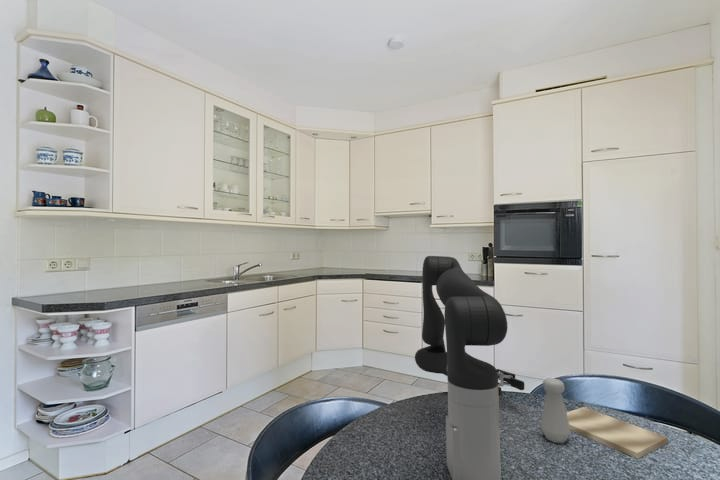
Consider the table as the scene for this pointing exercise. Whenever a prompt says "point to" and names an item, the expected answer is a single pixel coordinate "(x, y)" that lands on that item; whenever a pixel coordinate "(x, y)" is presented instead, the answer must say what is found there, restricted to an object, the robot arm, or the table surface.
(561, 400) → the salt shaker
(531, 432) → the table surface
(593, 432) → the birch board
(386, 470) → the table surface
